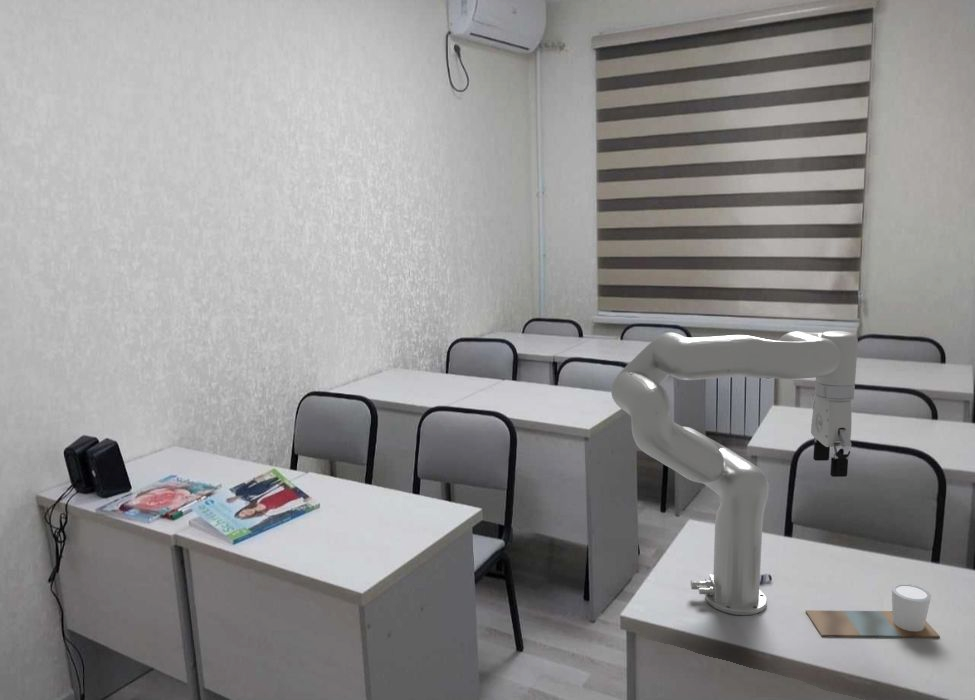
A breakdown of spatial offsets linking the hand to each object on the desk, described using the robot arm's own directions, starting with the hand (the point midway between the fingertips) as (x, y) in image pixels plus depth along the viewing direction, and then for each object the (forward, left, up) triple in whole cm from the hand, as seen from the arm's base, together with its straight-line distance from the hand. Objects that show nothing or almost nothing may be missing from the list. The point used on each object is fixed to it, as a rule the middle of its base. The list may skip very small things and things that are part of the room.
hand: (829, 467), depth 160 cm
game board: (+4, -14, -28) cm, 32 cm away
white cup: (+12, -14, -28) cm, 34 cm away
